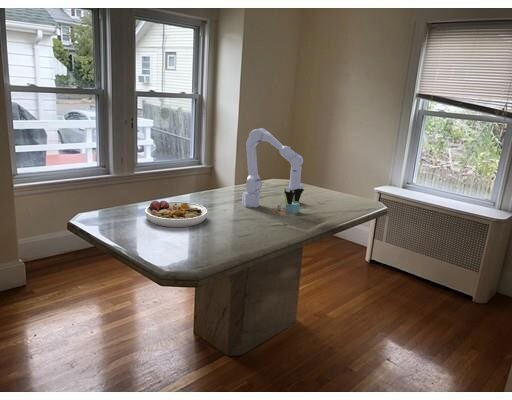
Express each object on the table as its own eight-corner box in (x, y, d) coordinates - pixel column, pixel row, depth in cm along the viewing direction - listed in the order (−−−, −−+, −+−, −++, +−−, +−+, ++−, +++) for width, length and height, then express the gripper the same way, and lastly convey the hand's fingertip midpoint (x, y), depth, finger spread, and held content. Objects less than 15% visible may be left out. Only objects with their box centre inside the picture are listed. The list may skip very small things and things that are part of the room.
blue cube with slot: (293, 214, 227) (294, 205, 225) (285, 212, 229) (286, 202, 228) (299, 212, 231) (299, 203, 230) (290, 210, 234) (291, 201, 232)
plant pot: (298, 206, 246) (300, 192, 244) (282, 205, 246) (283, 191, 244) (297, 202, 255) (298, 188, 253) (281, 201, 255) (283, 187, 253)
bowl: (215, 215, 220) (216, 201, 218) (192, 233, 192) (192, 216, 190) (163, 207, 228) (163, 193, 226) (133, 223, 200) (133, 207, 198)
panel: (277, 217, 223) (277, 215, 223) (268, 210, 235) (268, 208, 234) (303, 216, 228) (303, 214, 228) (293, 209, 240) (293, 207, 239)
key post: (276, 210, 231) (276, 204, 230) (275, 209, 232) (276, 203, 231) (280, 210, 232) (281, 204, 231) (279, 209, 233) (280, 203, 232)
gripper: (294, 181, 217) (292, 206, 221) (308, 177, 229) (306, 201, 232) (283, 178, 221) (281, 203, 225) (297, 175, 233) (295, 199, 236)
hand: (293, 202), depth 229 cm, fingers open, 7 cm apart
